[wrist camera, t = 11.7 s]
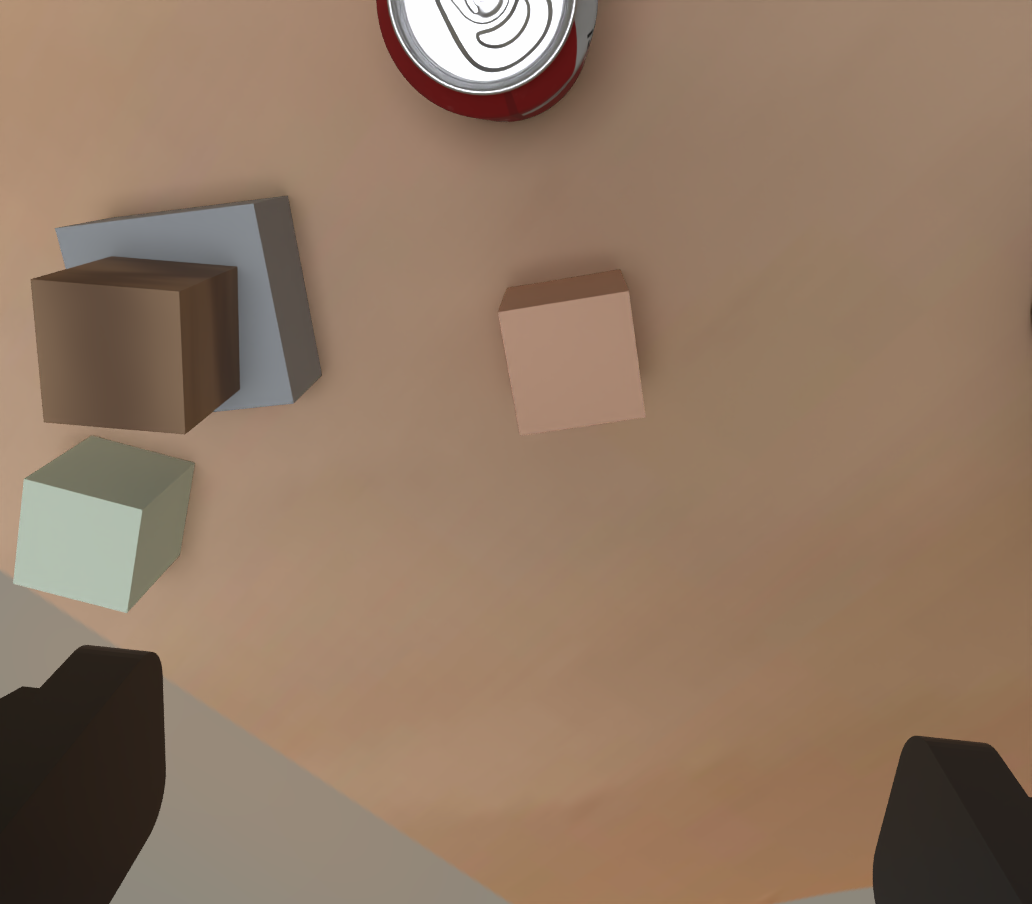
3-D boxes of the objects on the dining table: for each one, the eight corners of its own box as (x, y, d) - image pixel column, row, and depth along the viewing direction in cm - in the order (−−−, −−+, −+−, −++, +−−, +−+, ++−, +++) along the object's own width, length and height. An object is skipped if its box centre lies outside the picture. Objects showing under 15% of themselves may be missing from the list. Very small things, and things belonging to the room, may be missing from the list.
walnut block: (237, 266, 37) (179, 291, 32) (240, 389, 39) (185, 434, 33) (111, 256, 37) (30, 279, 32) (119, 379, 39) (43, 422, 33)
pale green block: (195, 462, 45) (142, 509, 39) (180, 554, 47) (126, 613, 41) (92, 435, 45) (23, 478, 39) (80, 528, 47) (13, 583, 41)
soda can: (495, 156, 40) (467, 166, 29) (389, 22, 38) (315, -25, 27) (623, 45, 38) (648, 9, 27) (517, -100, 37) (496, -203, 26)
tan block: (620, 269, 41) (628, 291, 36) (634, 379, 43) (645, 417, 37) (507, 287, 42) (497, 312, 36) (525, 396, 43) (520, 436, 38)
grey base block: (289, 195, 41) (253, 203, 36) (323, 373, 44) (293, 403, 39) (112, 217, 42) (55, 228, 37) (156, 392, 44) (107, 423, 40)
